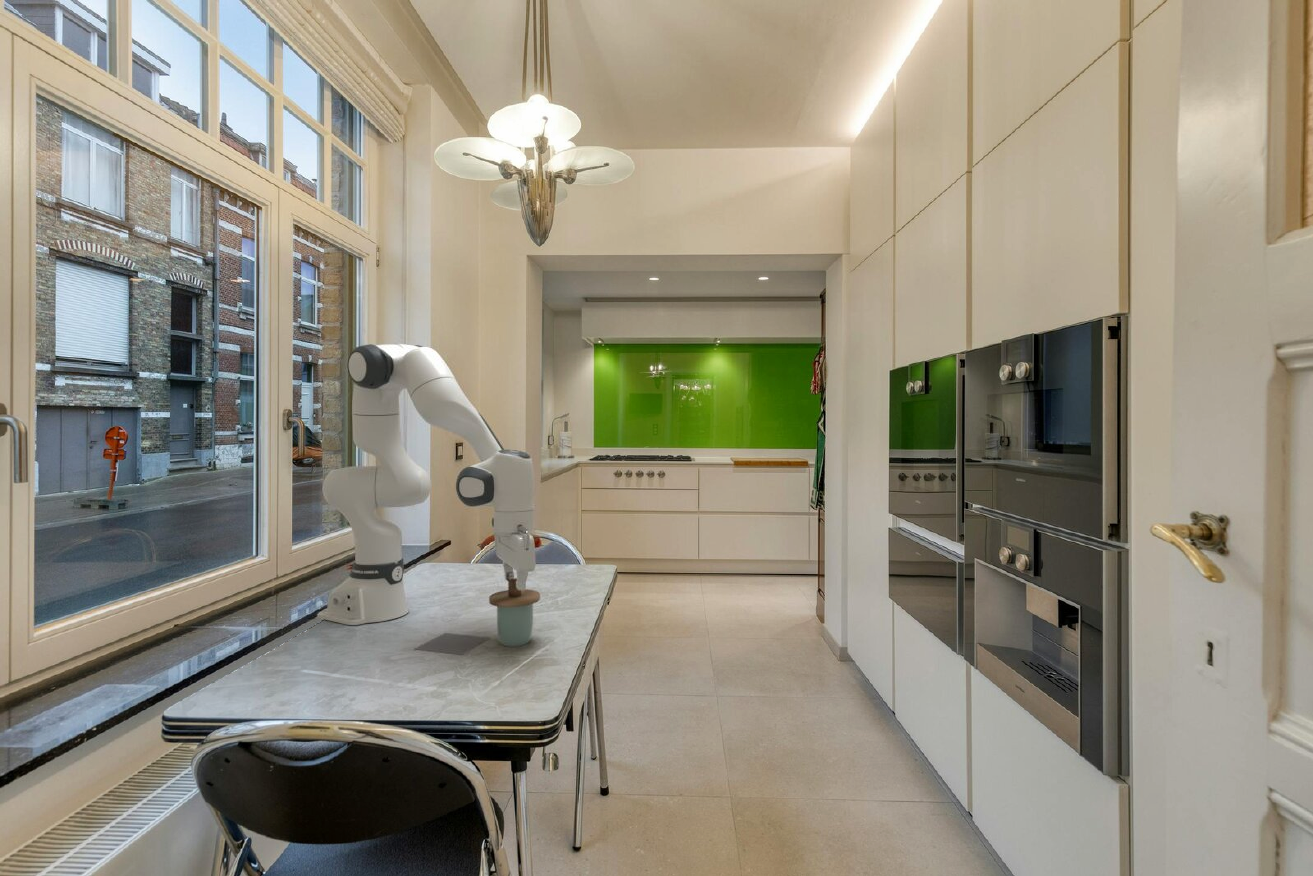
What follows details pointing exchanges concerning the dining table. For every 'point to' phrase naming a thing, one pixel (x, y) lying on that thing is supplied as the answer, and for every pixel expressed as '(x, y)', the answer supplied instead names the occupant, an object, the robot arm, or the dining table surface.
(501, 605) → the lid
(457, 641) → the mat
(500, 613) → the cup
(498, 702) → the dining table surface
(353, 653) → the dining table surface
